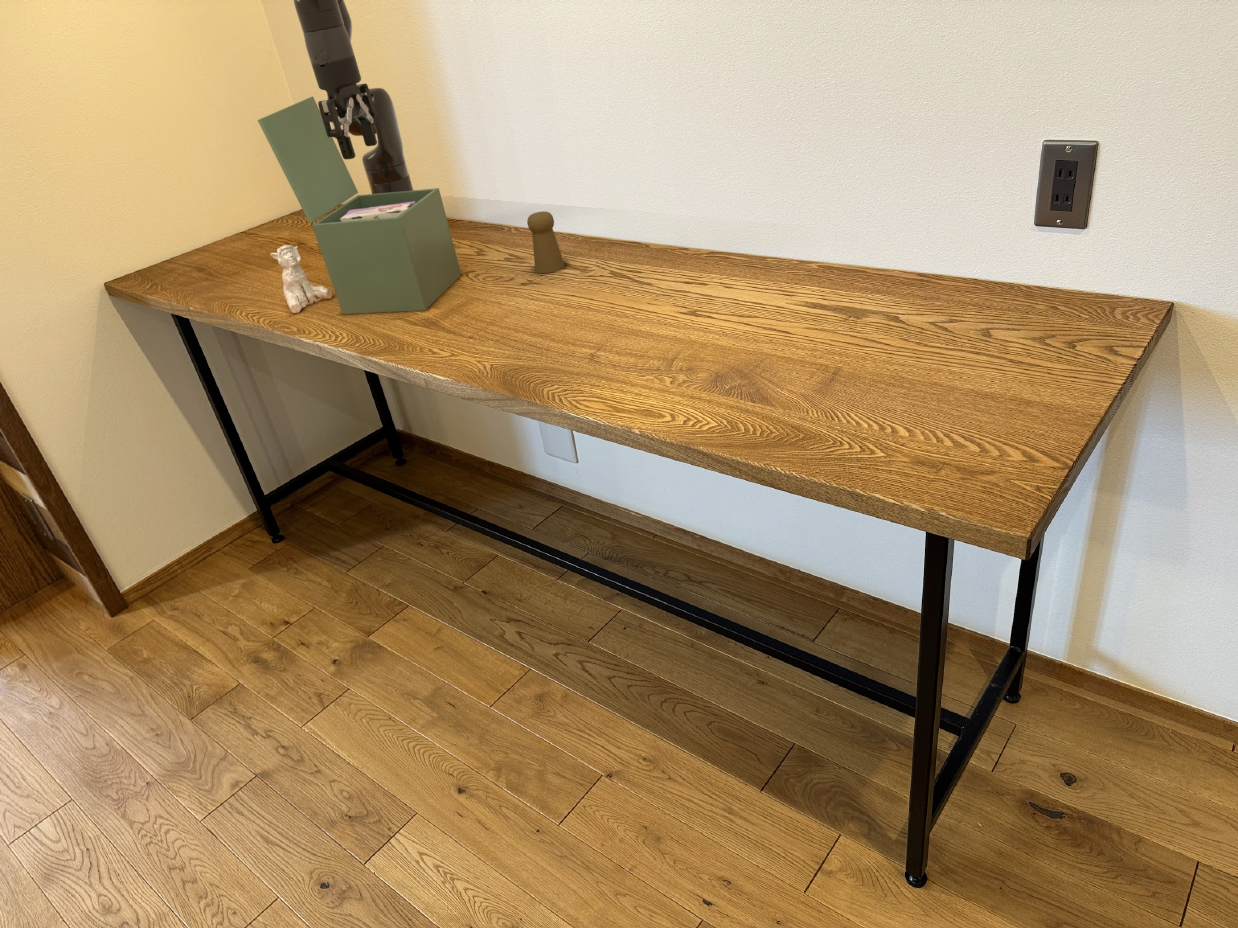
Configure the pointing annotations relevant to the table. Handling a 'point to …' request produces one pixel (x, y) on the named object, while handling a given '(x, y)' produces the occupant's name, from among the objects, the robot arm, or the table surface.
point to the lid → (308, 158)
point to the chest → (389, 254)
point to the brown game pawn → (544, 243)
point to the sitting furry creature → (297, 280)
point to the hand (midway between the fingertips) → (361, 152)
